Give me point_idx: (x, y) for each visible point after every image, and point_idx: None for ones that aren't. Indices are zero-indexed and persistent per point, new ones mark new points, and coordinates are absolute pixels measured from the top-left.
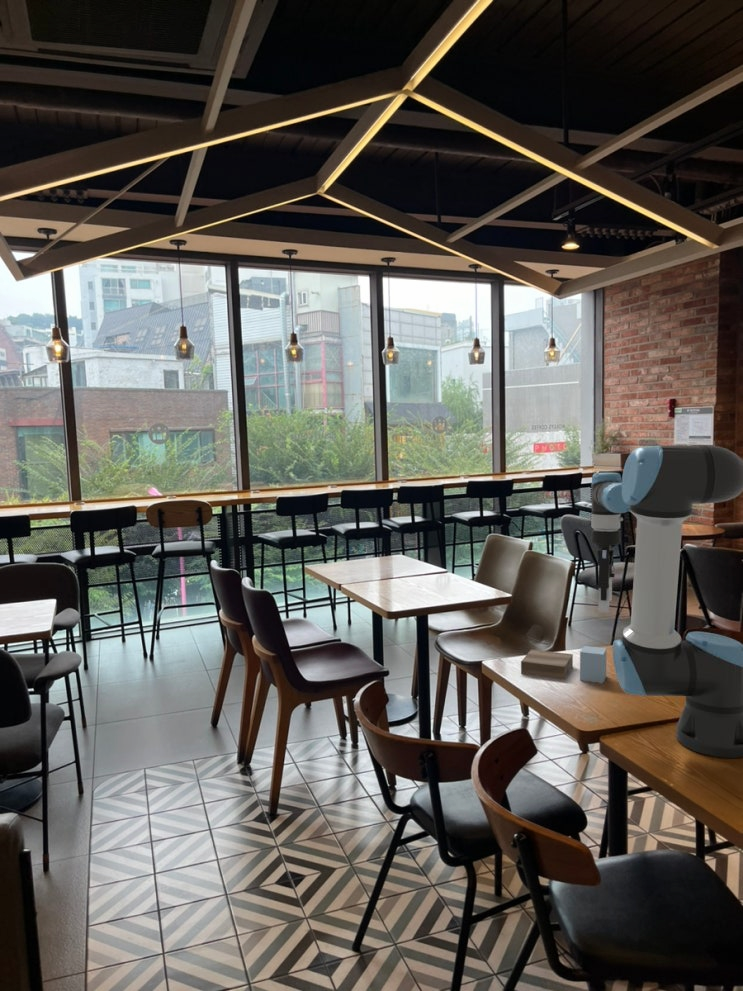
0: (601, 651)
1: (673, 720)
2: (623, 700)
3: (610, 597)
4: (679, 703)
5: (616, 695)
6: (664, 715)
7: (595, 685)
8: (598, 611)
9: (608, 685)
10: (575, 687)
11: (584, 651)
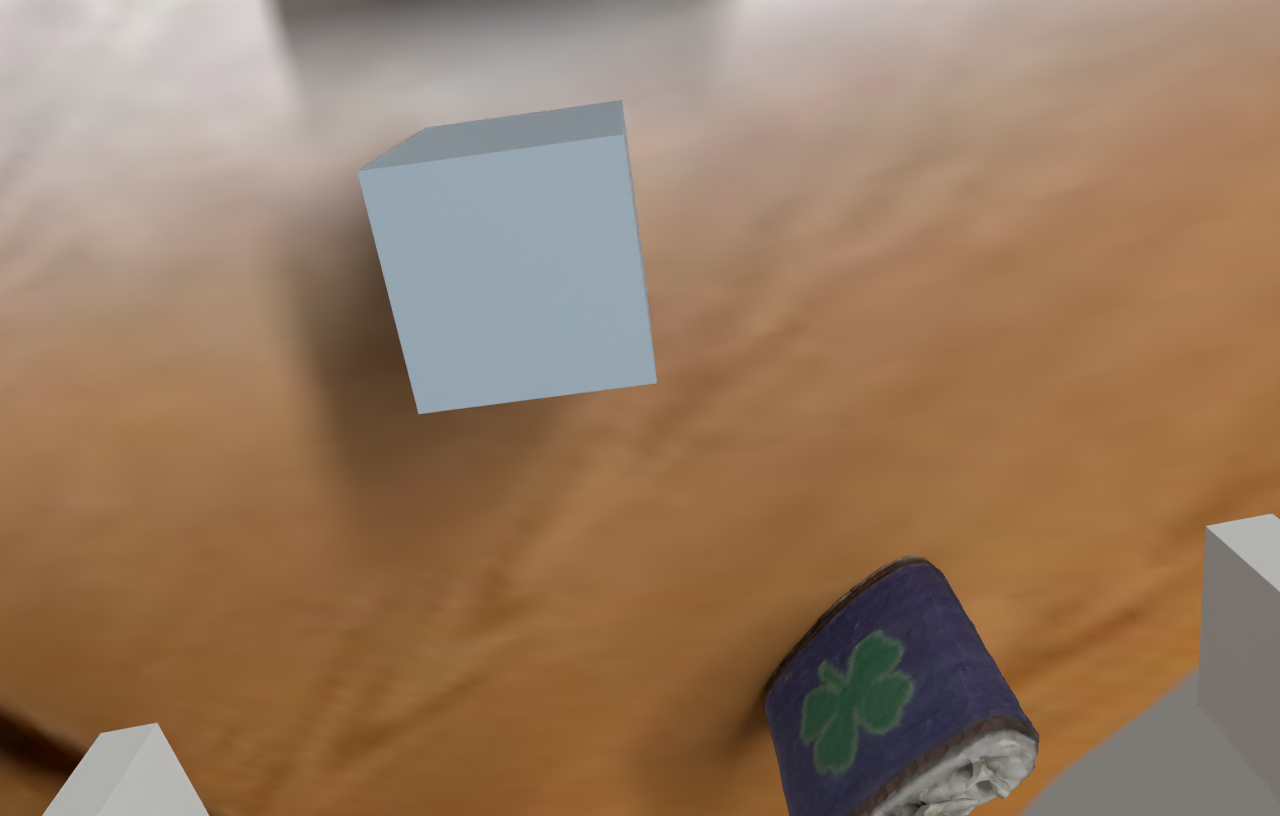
0: (517, 369)
1: None
2: (219, 520)
3: (1247, 744)
4: (396, 771)
5: (280, 461)
6: None
7: None
8: (99, 741)
9: None
10: (233, 149)
11: (402, 210)
